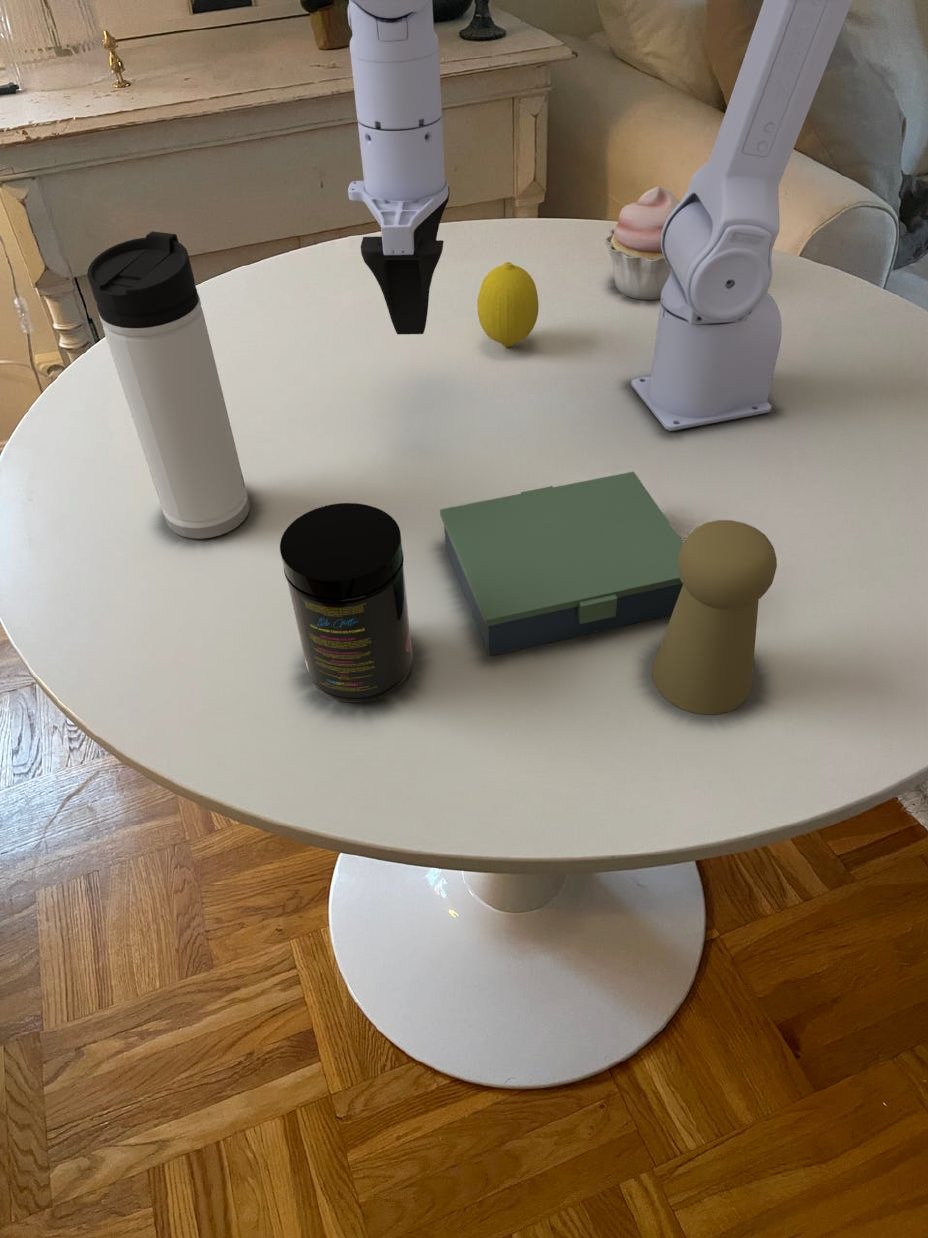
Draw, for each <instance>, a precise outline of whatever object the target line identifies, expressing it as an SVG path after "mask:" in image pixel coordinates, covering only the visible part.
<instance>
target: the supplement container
mask: <svg viewBox="0 0 928 1238" xmlns="http://www.w3.org/2000/svg"><path fill="white" fill-rule="evenodd" d="M402 542H403V541H402V534H401V529H400V526H399V525H398V523H397V521H396V520H395V519H394V518H393V517H392V516H391V515H390V514H389V513H387V512H386V511H384V510H382V509H380V508H378V507H376V506H372V505H368V504H364V503H358V502H357V503H356V502H341V503H340V502H339V503H332V504H327V505H324V506H323V505H322V506H320V507H316V508H313V509H311V510H309V511H307V512H305V513H303V514H302V515H300V516H299V517H297V518H295V520H293V521H292V522H291V523H290V524H289V525H288V526H287V527H286V529H285V530H284V532H283V534H282V536H281V538H280V542H279V553H280V556H281V561H282V566H283V573H284V576H285V579H286V582H287V586H288V590H289V595H290V599H291V603H292V608H293V612H294V617H295V621H296V626H297V630H298V631H297V632H298V634H299V639H300V644H301V649H302V653H303V657H304V662H305V667H306V672H307V674H308V677H309V680H310V681H311V682H312V684H313V685H314V686H315V687H316V688H317V689H318V690H319V691H320V692H322V693H323V694H324V695H326V696H327V697H330V698H332V699H333V700H337V701H341V702H347V703H364V702H370V701H374V700H378V699H379V698H382V697H385V696H386V695H388V694H390V693H392V692H393V691H394V690H395V689H397V688H398V687H399V686H400V685H401V684H402V683H403V682H404V680H405V679H406V678H407V676H408V674H409V672H410V670H411V668H412V664H413V645H412V636H411V635H412V634H411V626H410V617H409V609H408V608H409V605H408V596H407V588H406V586H407V585H406V577H405V568H404V566H405V565H404V561H405V560H404V559H405V557H404V556H405V555H404V550H403V543H402Z"/></svg>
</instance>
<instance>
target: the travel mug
mask: <svg viewBox="0 0 928 1238" xmlns="http://www.w3.org/2000/svg"><path fill="white" fill-rule="evenodd" d="M86 275H87V276H86V277H87V281H88V284H89V286H90V289H91V292H92V296H93V299H94V301H95V303H96V307H97V311H98V317H99V320H100V323H101V324H102V329H103V333H104V336H105V339H106V341H107V345H108V348H109V351H110V353H111V357H112V361H113V363H114V366H115V369H116V372H117V375H118V378H119V381H120V384H121V387H122V391H123V394H124V396H125V400H126V403H127V406H128V409H129V412H130V415H131V418H132V422H133V424H134V428H135V430H136V433H137V436H138V439H139V442H140V443H139V444H140V446H141V449H142V452H143V455H144V458H145V461H146V464H147V467H148V470H149V473H150V477H151V479H152V483H153V485H154V488H155V489H154V490H155V491H156V495H157V498H158V501H159V504H160V507H161V510H162V513H163V516H164V519H165V522H166V525H167V526H168V528H169V529H170V530H171V531H172V532H174V533H175V534H176V535H179V536H181V537H184V538H186V539H187V538H188V539H195V540H196V539H199V540H200V539H201V540H203V539H209V538H214V537H219V536H222V535H225V534H227V533H230V532H231V531H233V530H235V529H236V528H237V527H238V526H240V525H241V524H242V523H243V522H244V521H245V519H246V518H247V516H248V514H249V511H250V504H251V503H250V500H249V496H248V493H247V492H248V491H247V488H246V484H245V480H244V475H243V471H242V467H241V463H240V459H239V455H238V451H237V446H236V443H235V438H234V434H233V430H232V426H231V422H230V417H229V414H228V409H227V405H226V401H225V397H224V393H223V392H224V391H223V388H222V384H221V380H220V376H219V372H218V367H217V363H216V360H215V359H216V358H215V355H214V351H213V347H212V343H211V339H210V335H209V331H208V326H207V322H206V319H205V314H204V310H203V308H202V301H201V298H200V295H199V293H198V289H197V287H196V285H195V284H196V281H195V277H194V272H193V268H192V264H191V261H190V256H189V253H188V250H187V248H186V247H185V246H184V245H183V244H182V243H181V242H179V238H178V236H177V234H176V233H171V232H161V231H153V230H152V231H150V232H149V233H147V234H145V237H140V238H134V239H129V240H126V241H123V242H121V243H117V244H115V245H113V246H110V247H109V248H107V249H106V250H104V251H102V252H101V253H99V255H97V256H96V257H95V258H94V259H93V260H92V261H91V262H90V264H89V267H88V269H87V273H86Z"/></svg>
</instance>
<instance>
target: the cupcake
mask: <svg viewBox="0 0 928 1238" xmlns="http://www.w3.org/2000/svg"><path fill="white" fill-rule="evenodd" d="M680 202H681V201H679V199H678V197H676V196H675V194H673V193H672V191H671V190H668V189H667V188H664V187H661V186H656V187H653V188H651V189H649V190H647V191H645V193H643V194H642V195H641V196H640V197H639V198H638V200H637V201H636V202H631V203H629V204H627V205H625V206H624V207H623V208H621V210H620V212H619V216H618V222H617V224H616V225H615V227H614V228H611V229H609V235H607V236H606V237H604V239H603V241H604V244H605V246H606V249H607V251H608V254H609V256H610V261H611V266H612V272H613V279H614V285H615V287H616V290H618V291H619V293H621V294H623V295H624V296H627V297H630V298H632V299H638V300H647V301H649V300H659V299H660V300H661V292H662V289H663V287H664V285H665V283H666V282H667V280H668V278H669V275H670V272H671V266H670V264H669V263H668V262H667V260H666V259H665V257H664V255H663V252H662V249H661V233H662V229H663V226H664V223H665V221H666V219H667V218H668V216H669V215H670V213H671V212H672V211H673V210H674V208H675V207H676V206H677V205H678V204H679V203H680Z"/></svg>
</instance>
